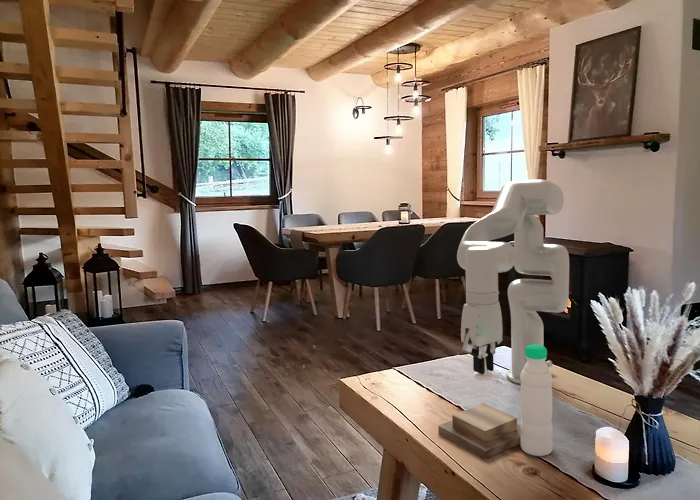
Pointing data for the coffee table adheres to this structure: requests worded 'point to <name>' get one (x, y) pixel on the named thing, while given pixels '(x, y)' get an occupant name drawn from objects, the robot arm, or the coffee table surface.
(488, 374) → the chess piece
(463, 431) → the plinth
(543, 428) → the water bottle
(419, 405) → the coffee table surface
